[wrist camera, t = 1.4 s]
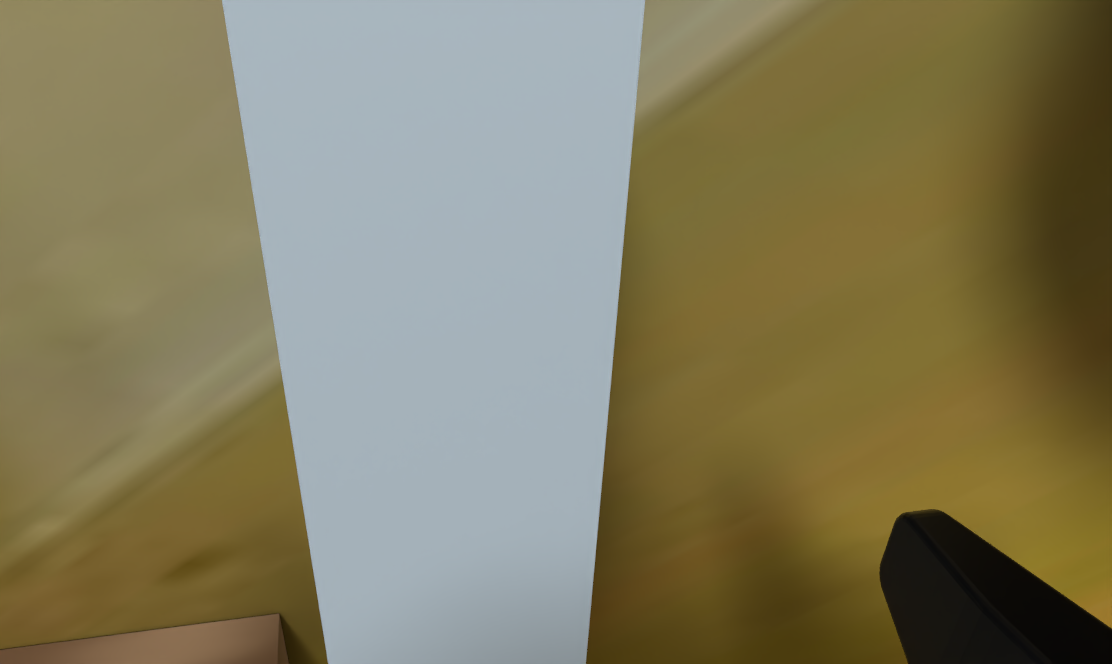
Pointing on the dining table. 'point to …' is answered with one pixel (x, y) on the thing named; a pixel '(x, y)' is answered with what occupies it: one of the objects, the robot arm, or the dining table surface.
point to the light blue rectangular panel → (444, 305)
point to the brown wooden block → (168, 646)
